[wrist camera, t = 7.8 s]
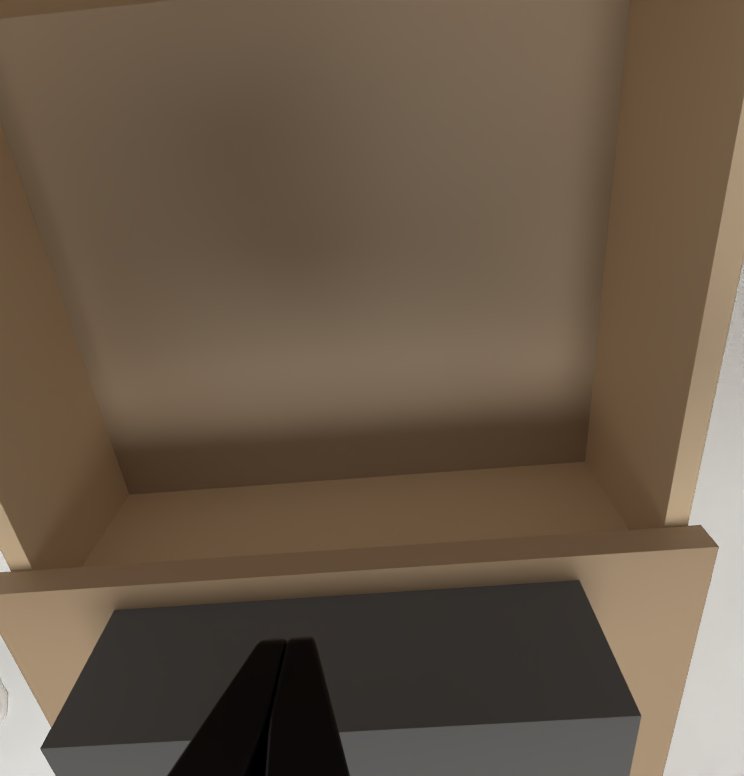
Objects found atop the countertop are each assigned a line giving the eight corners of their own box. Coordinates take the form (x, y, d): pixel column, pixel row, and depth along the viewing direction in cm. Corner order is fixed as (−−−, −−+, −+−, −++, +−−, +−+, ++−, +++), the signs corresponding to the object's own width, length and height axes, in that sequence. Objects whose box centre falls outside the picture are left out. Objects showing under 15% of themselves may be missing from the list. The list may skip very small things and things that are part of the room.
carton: (652, -76, 13) (841, -212, 8) (594, 465, 20) (674, 586, 15) (-51, 1, 14) (-312, -76, 9) (124, 498, 21) (38, 627, 16)
